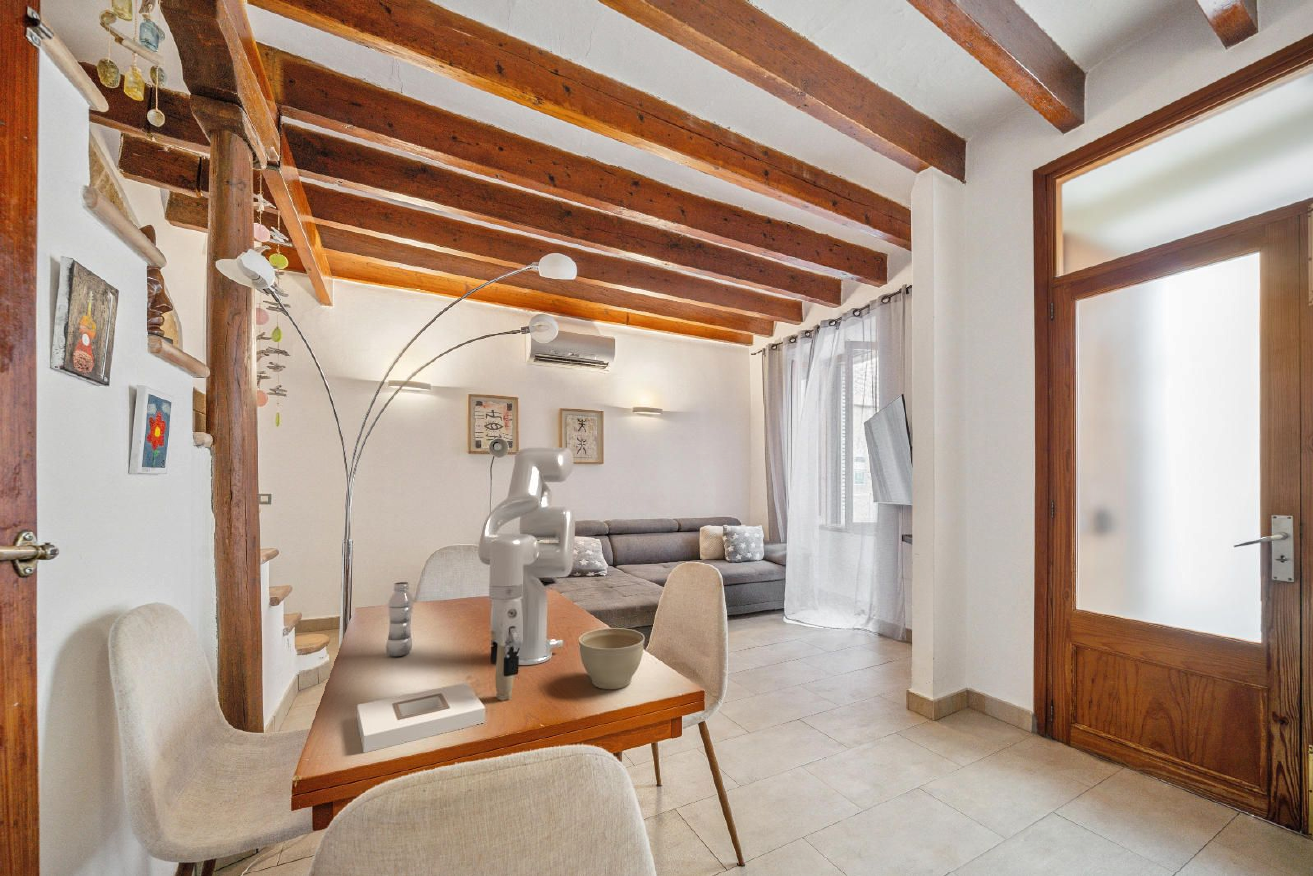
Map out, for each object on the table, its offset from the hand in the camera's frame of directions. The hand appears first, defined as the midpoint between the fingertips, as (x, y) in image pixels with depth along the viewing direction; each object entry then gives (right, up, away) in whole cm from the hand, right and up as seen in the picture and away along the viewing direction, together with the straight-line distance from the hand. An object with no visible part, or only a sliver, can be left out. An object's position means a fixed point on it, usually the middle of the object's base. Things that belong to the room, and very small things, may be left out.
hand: (504, 668), depth 122 cm
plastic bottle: (-38, -9, +29) cm, 49 cm away
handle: (0, -7, 0) cm, 7 cm away
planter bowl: (+24, -8, +9) cm, 27 cm away
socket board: (-14, -6, -11) cm, 19 cm away
